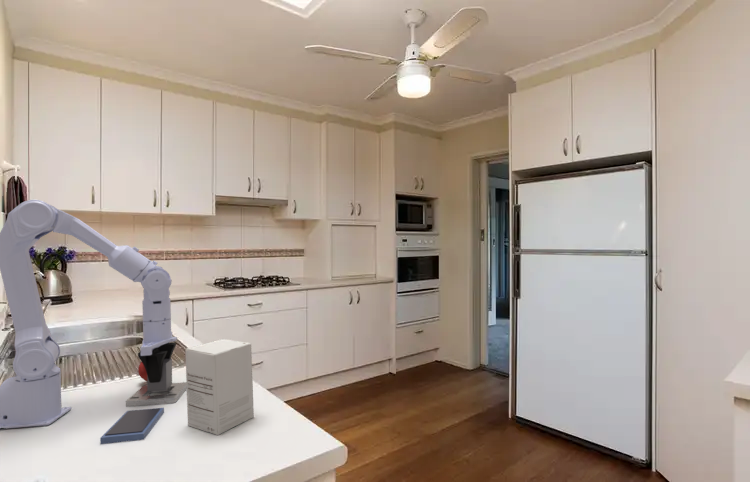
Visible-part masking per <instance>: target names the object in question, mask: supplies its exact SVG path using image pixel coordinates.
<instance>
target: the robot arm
mask: <svg viewBox="0 0 750 482" xmlns="http://www.w3.org/2000/svg"><path fill="white" fill-rule="evenodd" d="M52 232H53V233H56V234H57V233H58V234H63V235H68V236H71V237H74V238H76V239H77V240H78V241H81V242H82V243H83V244H86V245H87V246H89V247H90V248H92V249H94V250H95V251H97V252H98V253H100V254H102V255H103V256H105V257H106V258H107V261H108V266H109V267H110V268H112V269H113V270H114V271H116V272H118V273H120V274H121V275H123V276H124V277H126V278H127V279H129V280H131V281H132V282H133V283H140V284H141V286H142V288H143V292H142V293H143V299H142V302H141V303H142V305H141V307H142V338H143V339H142V342H141V343H142V345H141V346H140V350H139V351H138V353H137V358H138V359H139V360H140V363H141V362H142V363H143V365H144V367H145V370H146V373H147V376H148V379H149V382H150V383H155V382H160V380H161V376H162V367H163V362H164V359H172V356H173V352H174V350H175V349H176V346H177V342H176V341H177V340H178V337H177V336H173V331H172V309H171V305H172V304H171V298H170V295H171V292H170V291H171V290H170V287H171V285H172V282H173V281H172V279H171V278H172V277H171V275H170V273H169V272H168V271H167V270H166V269H164V268H163V267H162V266H159V265H158V261H156V260H153V261H152V260H150V259H149V257H148V258H147V257H146V256H144V255H143V254H141V253H140V252H139V251H140V249H139V248H138V247H137V246H133V247H131V246H130V245H127V244H126V245H125V244H123V245H117V244H115V243H114V242H112V241H111V240H110V239H108V238H107V237H105V236H104V235H102V234H101V232H100V233H99V232H98V231H96V230H95V229H94V228H92V227H91V226H90V225H88V224H87V223H85V222H84V221H82V220H81V219H79V218H78V217H76V216H74V215H72V214H70V213H67V212H66V211H63V210H62V209H59V208H57V207H55V206H53V205H52V204H49V203H47V202H46V201H45V200H44V201H43V200H40V199H29V200H25V201H23V202H21V203H19V204H18V205H17V206H16V207H14V208H13V209H12V210H11V211H10V212H8V213H7V218H6V221H5V223H4V225H3V226H2V228H1V230H0V274H1V278H2V283H3V287H4V291H5V292H4V293H5V295H6V300H7V304H8V308H9V311H10V315H11V316H10V317H11V320H12V324H13V329H14V332H15V334H14V335H15V336H14V349H15V356H14V359H13V361H12V369H13V371H14V373H15V375H14V376H11V377H8V378H5V380H3V382H1V385H0V428H6V429H15V428H16V429H17V428H29V427H41V426H49V425H51V424H52V423H54V422H56V420H58V419H59V418H60V417H62V416H63V415H65V414H66V413H68V412H69V411H70V410H72V407H71V406H66V407H65V406H64V407H62V380H61V379H62V378H61V375H62V374H61V368H60V367H59V366H58V365H57V364H56V363H55V362H57V361H58V359H59V357H60V356H61V347H60V345H59V343H57V341H55V340H54V338H53V337H52V334H51V331H50V330H51V329H50V328H49V327H48V325H47V323H46V319H45V315H44V310H43V305H42V301H41V297H40V292H39V290H38V285H37V280H36V276H35V272H34V267H33V263H32V259H31V254H30V249H31V248H33V246H34V245H35V244H36V243H38V241H40V239H41V238H42V237H45V235H48V234H51V233H52Z"/></svg>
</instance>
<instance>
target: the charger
mask: <svg viewBox="0 0 750 482" xmlns="http://www.w3.org/2000/svg"><path fill="white" fill-rule="evenodd" d="M146 382H147V383H146V385H147V391H161V390H167V389H168V388H169V387H170V386H171V385H172V383H173V359H172V358H171V359H164V362H163V367H162V376H161V380H160V382H155V383H150V382H149V379H148V376H147V381H146Z"/></svg>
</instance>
